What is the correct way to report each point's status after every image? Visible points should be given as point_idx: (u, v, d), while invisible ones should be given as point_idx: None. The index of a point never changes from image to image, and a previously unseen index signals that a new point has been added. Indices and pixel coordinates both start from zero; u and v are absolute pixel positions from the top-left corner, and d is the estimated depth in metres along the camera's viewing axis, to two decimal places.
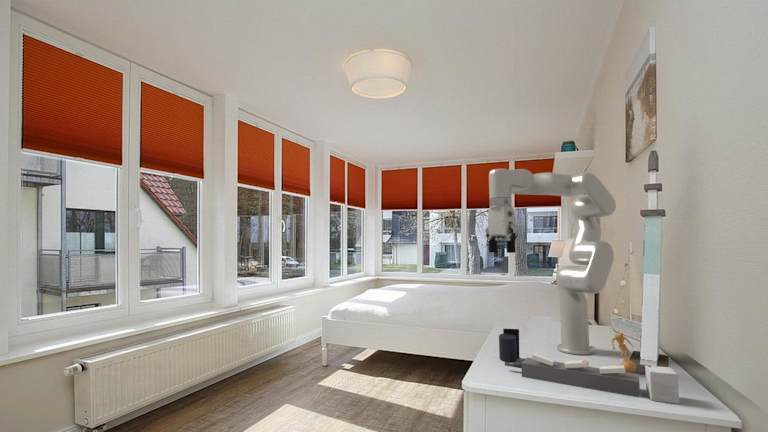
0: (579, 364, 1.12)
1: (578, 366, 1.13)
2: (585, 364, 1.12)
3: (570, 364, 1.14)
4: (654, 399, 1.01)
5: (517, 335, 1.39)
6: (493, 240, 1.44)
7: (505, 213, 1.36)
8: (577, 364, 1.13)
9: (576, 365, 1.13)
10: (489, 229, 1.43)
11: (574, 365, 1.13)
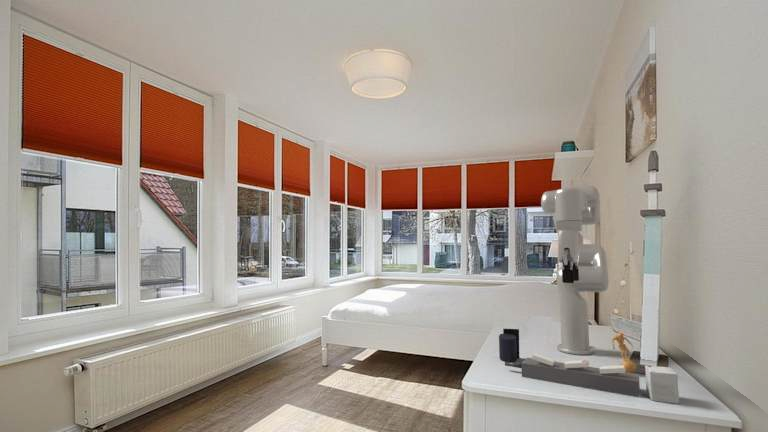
0: (579, 364, 1.12)
1: (578, 366, 1.13)
2: (585, 364, 1.12)
3: (570, 364, 1.14)
4: (654, 399, 1.01)
5: (517, 335, 1.39)
6: None
7: None
8: (577, 364, 1.13)
9: (576, 365, 1.13)
10: (575, 255, 1.22)
11: (574, 365, 1.13)
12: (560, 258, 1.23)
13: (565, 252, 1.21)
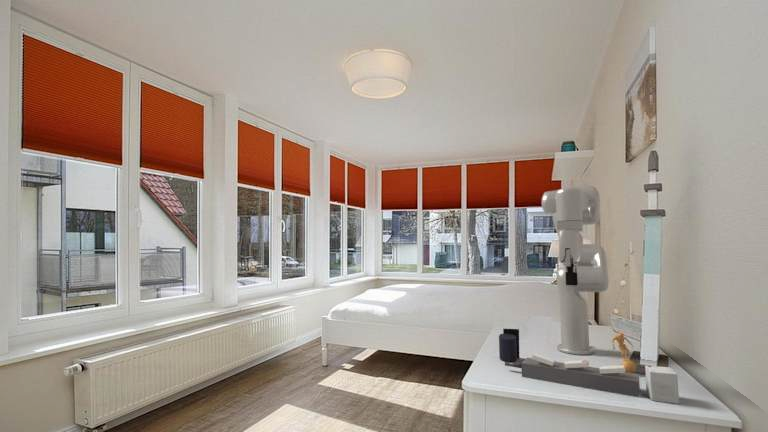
0: (579, 364, 1.12)
1: (578, 366, 1.13)
2: (585, 364, 1.12)
3: (570, 364, 1.14)
4: (654, 399, 1.01)
5: (517, 335, 1.39)
6: None
7: None
8: (577, 364, 1.13)
9: (576, 365, 1.13)
10: (576, 255, 1.22)
11: (574, 365, 1.13)
12: (561, 258, 1.23)
13: (567, 258, 1.22)
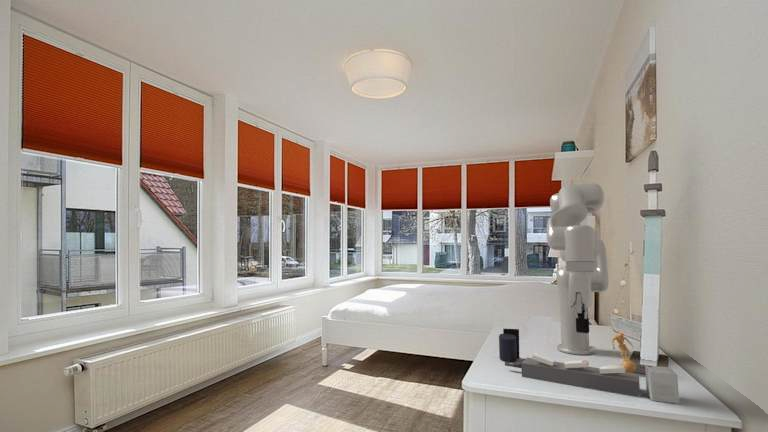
0: (579, 364, 1.12)
1: (578, 366, 1.13)
2: (585, 364, 1.12)
3: (570, 364, 1.14)
4: (654, 399, 1.01)
5: (517, 335, 1.39)
6: None
7: None
8: (577, 364, 1.13)
9: (576, 365, 1.13)
10: (587, 300, 1.10)
11: (574, 365, 1.13)
12: (571, 303, 1.11)
13: (578, 304, 1.10)
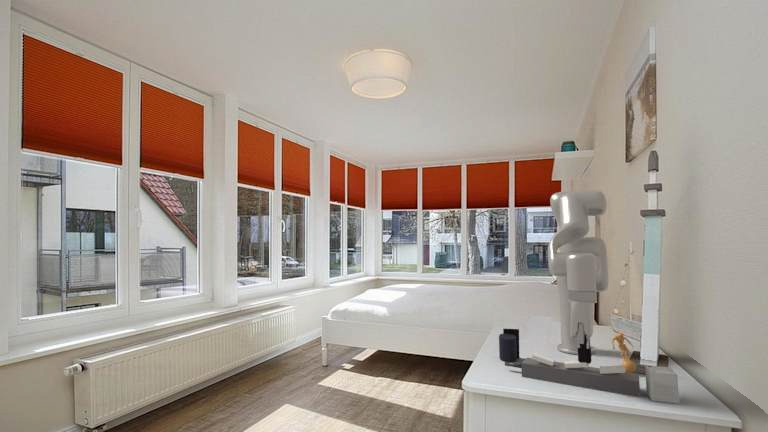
0: (579, 364, 1.12)
1: (578, 366, 1.13)
2: (585, 364, 1.12)
3: (570, 364, 1.14)
4: (654, 399, 1.01)
5: (517, 335, 1.39)
6: None
7: None
8: (577, 364, 1.13)
9: (576, 365, 1.13)
10: (590, 331, 1.09)
11: (574, 365, 1.13)
12: (573, 334, 1.10)
13: (580, 334, 1.09)
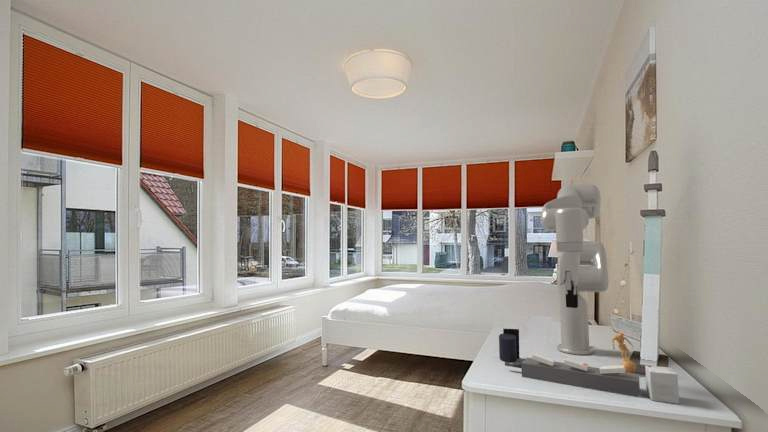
0: (579, 366, 1.12)
1: (578, 367, 1.13)
2: (585, 368, 1.12)
3: (570, 362, 1.14)
4: (654, 399, 1.01)
5: (517, 335, 1.39)
6: None
7: None
8: (577, 365, 1.13)
9: (576, 365, 1.13)
10: (576, 278, 1.18)
11: (574, 365, 1.13)
12: (561, 281, 1.20)
13: (568, 281, 1.19)
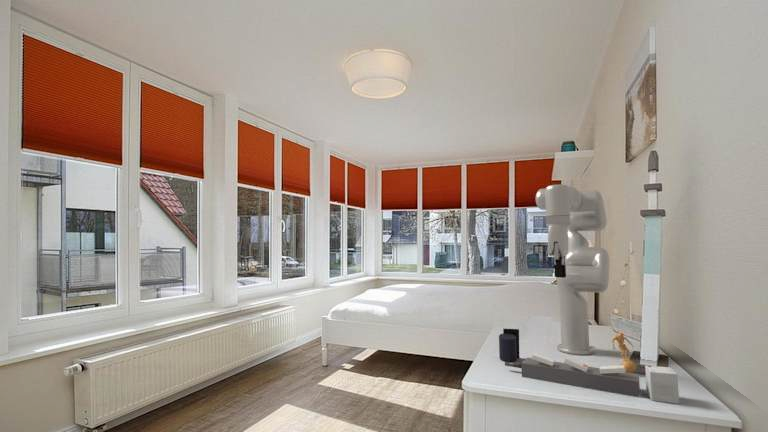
0: (579, 366, 1.12)
1: (577, 367, 1.13)
2: (585, 369, 1.12)
3: (571, 362, 1.14)
4: (654, 399, 1.01)
5: (517, 335, 1.39)
6: None
7: None
8: (577, 365, 1.13)
9: (576, 365, 1.13)
10: (564, 248, 1.27)
11: (574, 364, 1.13)
12: (550, 251, 1.29)
13: (556, 251, 1.28)
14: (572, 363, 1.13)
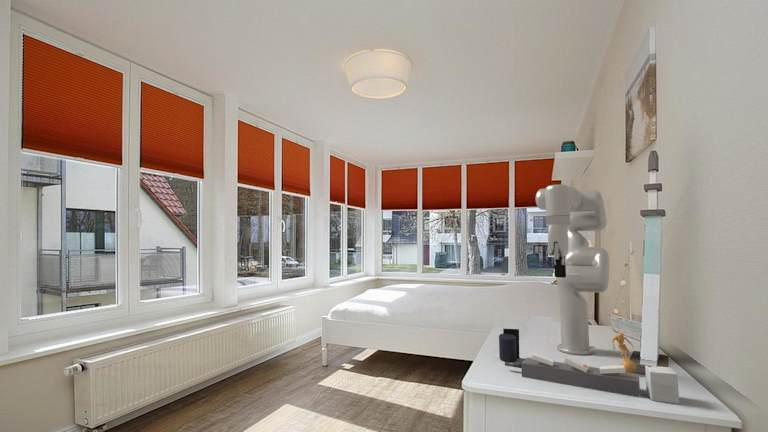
0: (579, 366, 1.12)
1: (577, 367, 1.13)
2: (585, 369, 1.12)
3: (571, 362, 1.14)
4: (654, 399, 1.01)
5: (517, 335, 1.39)
6: None
7: None
8: (577, 365, 1.13)
9: (576, 365, 1.13)
10: (564, 248, 1.27)
11: (574, 364, 1.13)
12: (550, 251, 1.29)
13: (556, 251, 1.28)
14: (572, 363, 1.13)
